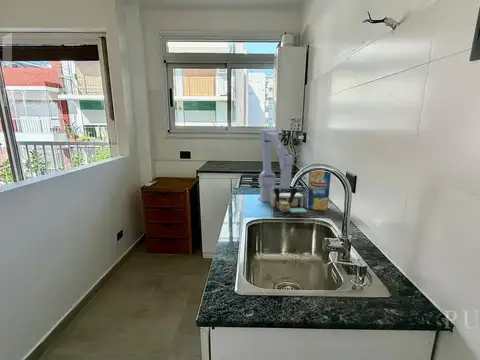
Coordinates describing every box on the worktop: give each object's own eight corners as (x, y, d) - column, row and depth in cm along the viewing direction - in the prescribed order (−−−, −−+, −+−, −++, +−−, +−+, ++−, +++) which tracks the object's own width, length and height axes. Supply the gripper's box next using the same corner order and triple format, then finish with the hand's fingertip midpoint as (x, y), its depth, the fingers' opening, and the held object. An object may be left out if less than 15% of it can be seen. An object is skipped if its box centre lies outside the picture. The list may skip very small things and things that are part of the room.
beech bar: (274, 206, 159) (275, 198, 158) (281, 205, 160) (281, 198, 159) (282, 212, 147) (283, 204, 146) (289, 212, 148) (290, 204, 147)
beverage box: (327, 210, 152) (331, 171, 148) (307, 208, 154) (310, 170, 149) (325, 206, 159) (329, 169, 154) (306, 205, 160) (309, 169, 156)
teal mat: (287, 208, 153) (287, 207, 153) (302, 208, 154) (302, 207, 154) (291, 212, 146) (291, 211, 146) (307, 212, 147) (307, 211, 147)
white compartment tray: (269, 203, 162) (270, 193, 161) (298, 203, 165) (299, 192, 164) (272, 207, 156) (273, 196, 154) (302, 206, 158) (303, 195, 157)
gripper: (274, 179, 141) (273, 204, 143) (301, 178, 143) (299, 203, 145) (271, 176, 148) (270, 200, 150) (296, 176, 150) (295, 200, 152)
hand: (284, 201), depth 148 cm, fingers open, 7 cm apart
